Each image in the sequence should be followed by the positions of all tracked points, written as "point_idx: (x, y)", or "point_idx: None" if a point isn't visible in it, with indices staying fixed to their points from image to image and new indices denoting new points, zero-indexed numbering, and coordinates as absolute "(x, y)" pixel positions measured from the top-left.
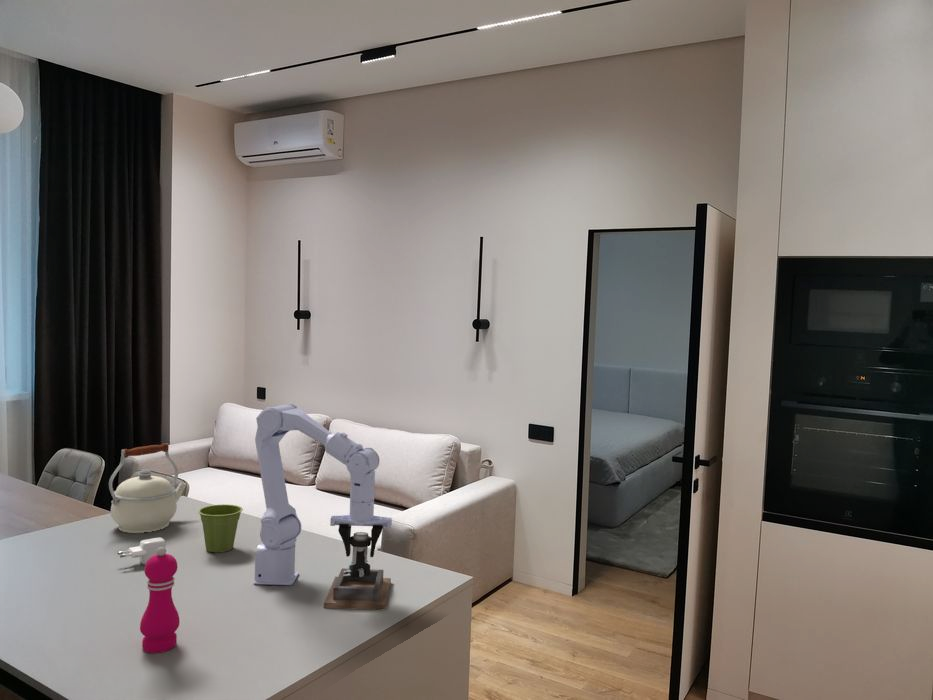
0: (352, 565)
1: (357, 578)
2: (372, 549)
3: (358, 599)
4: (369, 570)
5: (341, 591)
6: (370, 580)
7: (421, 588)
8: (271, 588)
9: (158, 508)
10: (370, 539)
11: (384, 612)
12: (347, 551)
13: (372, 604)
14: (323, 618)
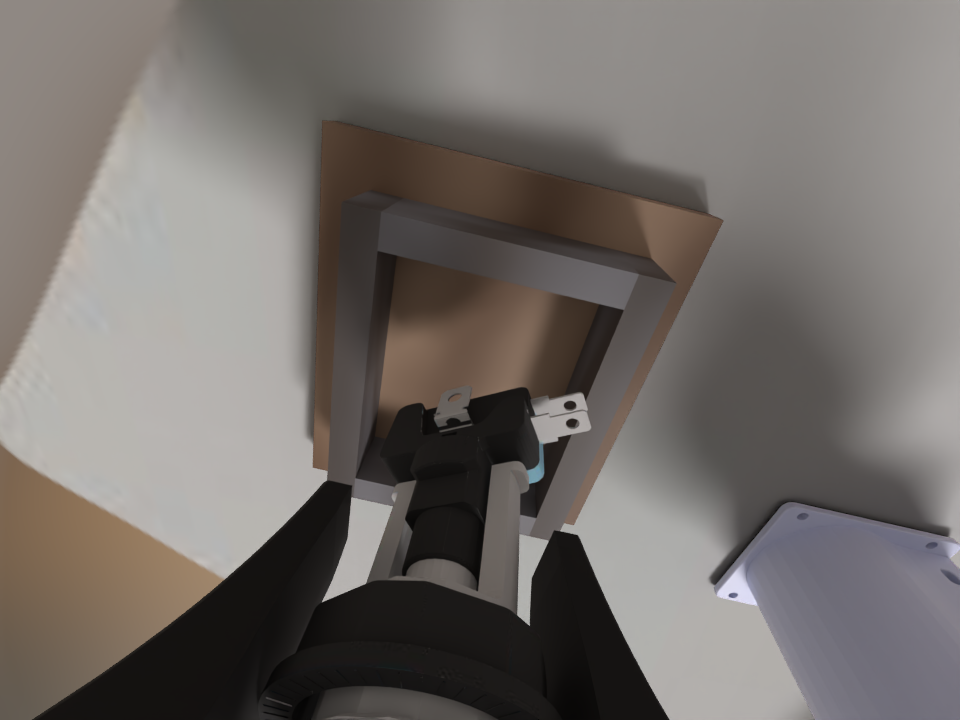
0: (519, 461)
1: None
2: (291, 541)
3: (493, 222)
4: (394, 428)
5: (612, 262)
6: None
7: (169, 374)
8: (888, 492)
9: None
10: (271, 698)
11: (336, 73)
12: (580, 575)
13: (406, 142)
14: (765, 25)
